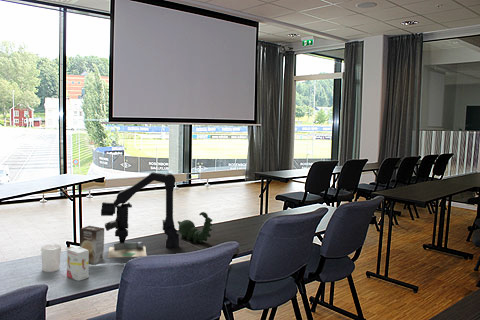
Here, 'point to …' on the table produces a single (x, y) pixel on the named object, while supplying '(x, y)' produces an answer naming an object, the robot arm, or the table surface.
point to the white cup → (51, 257)
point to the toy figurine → (195, 229)
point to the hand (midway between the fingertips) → (121, 245)
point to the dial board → (126, 252)
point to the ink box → (77, 263)
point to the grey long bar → (129, 245)
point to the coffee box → (93, 243)
